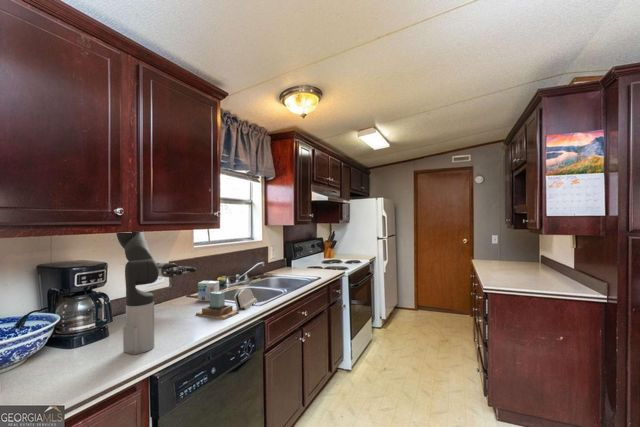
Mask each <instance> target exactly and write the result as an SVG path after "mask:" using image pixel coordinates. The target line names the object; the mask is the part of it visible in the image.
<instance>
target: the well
mask: <svg viewBox="0 0 640 427" xmlns="http://www.w3.org/2000/svg"><path fill="white" fill-rule="evenodd" d="M239 312H240V311H239V310H235V309H233V305H228V304H225V308H223V309H221V310H216V309H210V305H208V306H205V307H202V308H201V310H200V311H198V312H196V313H195V316H199V317H205V318H210V319H211V318H212V319H217V318H218V320H226V319H228V318H231V317H233V316H235V315H237V314H240V313H239Z"/></svg>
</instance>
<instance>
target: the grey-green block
mask: <svg viewBox="0 0 640 427" xmlns="http://www.w3.org/2000/svg"><path fill="white" fill-rule="evenodd" d="M225 298H226V297H225V292H224V291H220V290H219V291H214V292H211V293H210V301H209V306H210V309H216V310H221V309H223V308H225V305H226V304H225V301H226V300H225Z"/></svg>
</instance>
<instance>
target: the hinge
mask: <svg viewBox="0 0 640 427" xmlns="http://www.w3.org/2000/svg"><path fill="white" fill-rule="evenodd" d="M233 300H234V304H235V307H236V310H240V309H244V310H245V311H246V310H248V309H249V308H251V307H252V306H253V305H255V304H256V303H258V298H256V297H255V296H254V294H253V291H252V288H243V289H241V290H239V291H237V292H236V293H235V294H234V296H233ZM254 303H255V304H254ZM252 304H253V305H252ZM251 305H252V306H251ZM250 306H251V307H250Z"/></svg>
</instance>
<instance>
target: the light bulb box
mask: <svg viewBox="0 0 640 427" xmlns="http://www.w3.org/2000/svg"><path fill="white" fill-rule="evenodd" d="M214 291H219V292H220V281H219V280H202V281H200V282H197V301H198V302H200V301H201V302H210V293H211V292H214Z"/></svg>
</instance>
